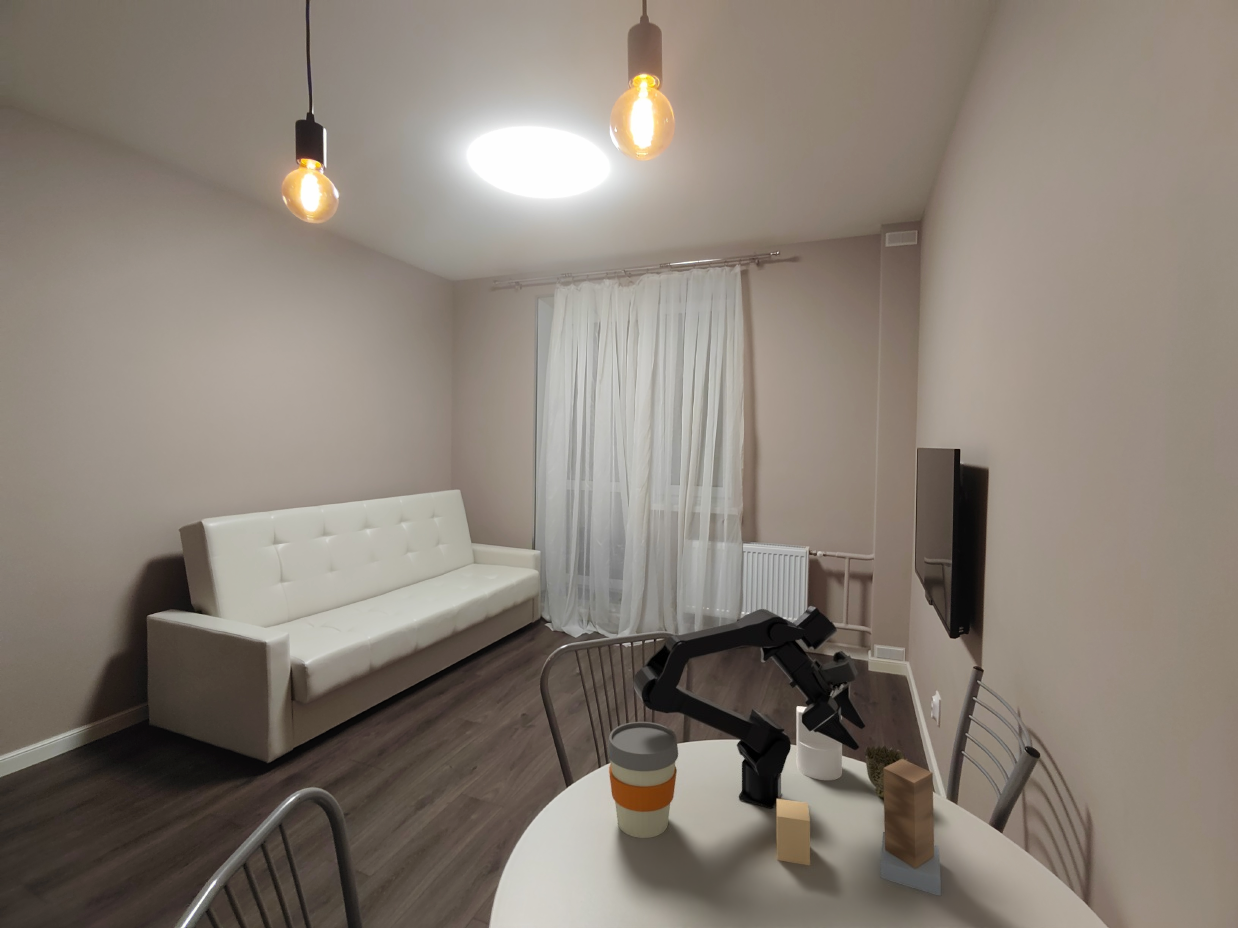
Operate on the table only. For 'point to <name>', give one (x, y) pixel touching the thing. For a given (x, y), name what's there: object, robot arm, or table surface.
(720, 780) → the table surface
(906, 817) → the walnut pillar
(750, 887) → the table surface
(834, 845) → the table surface
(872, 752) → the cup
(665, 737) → the reusable coffee cup
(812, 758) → the cylinder with rectangular tab
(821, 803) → the table surface
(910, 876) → the slate block
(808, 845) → the ochre block
